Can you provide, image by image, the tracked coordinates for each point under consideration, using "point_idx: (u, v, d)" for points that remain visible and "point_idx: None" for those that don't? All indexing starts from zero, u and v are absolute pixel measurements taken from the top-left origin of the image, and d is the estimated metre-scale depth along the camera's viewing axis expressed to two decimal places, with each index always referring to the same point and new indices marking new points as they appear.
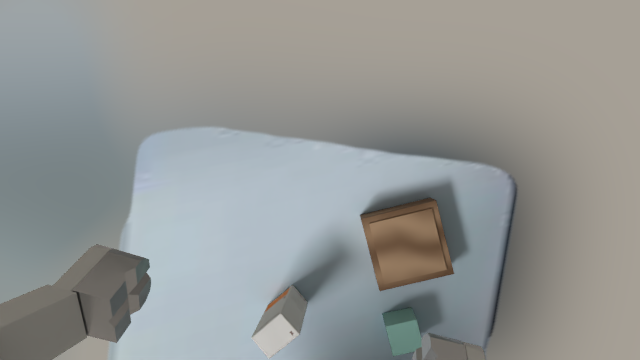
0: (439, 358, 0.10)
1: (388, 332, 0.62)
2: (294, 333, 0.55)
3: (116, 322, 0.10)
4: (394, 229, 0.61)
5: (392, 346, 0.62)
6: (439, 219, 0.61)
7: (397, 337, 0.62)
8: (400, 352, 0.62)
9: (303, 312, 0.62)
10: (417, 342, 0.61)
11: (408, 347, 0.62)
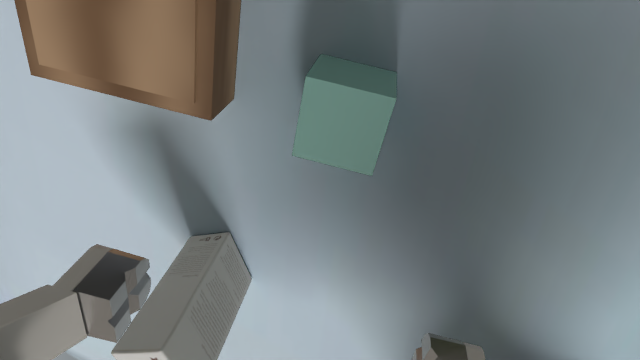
0: (439, 358, 0.10)
1: (308, 156, 0.23)
2: (156, 356, 0.25)
3: (116, 322, 0.10)
4: (55, 7, 0.22)
5: (347, 165, 0.23)
6: None
7: (331, 145, 0.23)
8: (371, 156, 0.23)
9: (201, 273, 0.30)
10: (367, 104, 0.21)
11: (369, 133, 0.22)
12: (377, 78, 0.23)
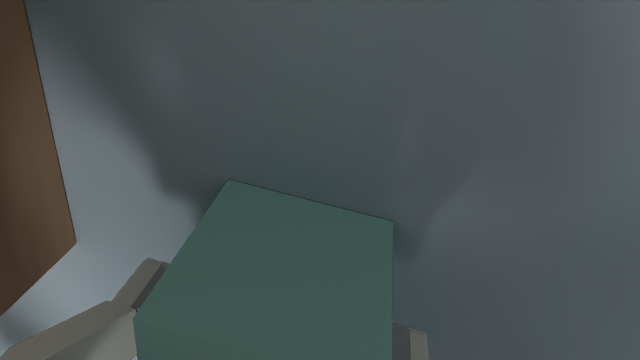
0: None
1: None
2: None
3: None
4: None
5: None
6: None
7: None
8: None
9: None
10: None
11: None
12: (345, 269, 0.09)
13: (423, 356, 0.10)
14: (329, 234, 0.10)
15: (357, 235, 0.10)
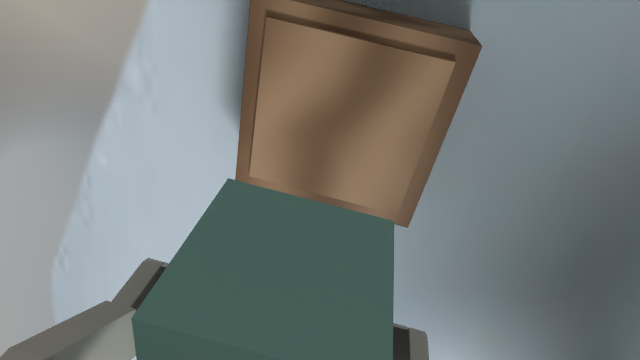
0: None
1: None
2: None
3: None
4: (282, 133, 0.23)
5: None
6: (308, 8, 0.20)
7: None
8: None
9: None
10: None
11: None
12: (345, 268, 0.09)
13: (423, 356, 0.10)
14: (329, 233, 0.10)
15: (358, 234, 0.10)
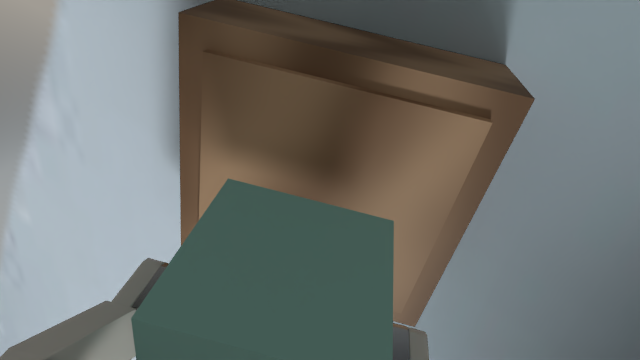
0: None
1: None
2: None
3: None
4: None
5: None
6: (265, 39, 0.13)
7: None
8: None
9: None
10: None
11: None
12: (345, 268, 0.09)
13: (423, 356, 0.10)
14: (329, 233, 0.10)
15: (357, 234, 0.10)
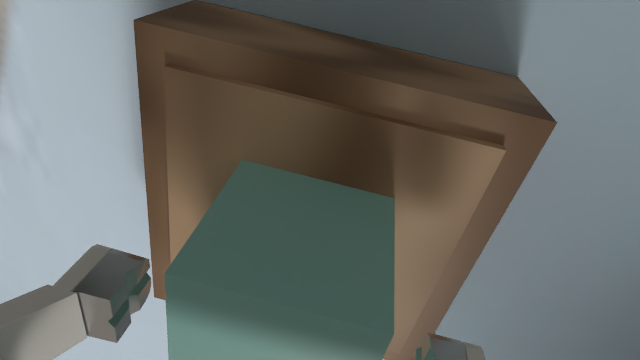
0: (439, 358, 0.10)
1: None
2: None
3: (116, 322, 0.10)
4: None
5: None
6: (237, 51, 0.11)
7: None
8: None
9: None
10: (321, 337, 0.09)
11: None
12: (351, 237, 0.10)
13: None
14: (336, 208, 0.11)
15: (362, 209, 0.11)
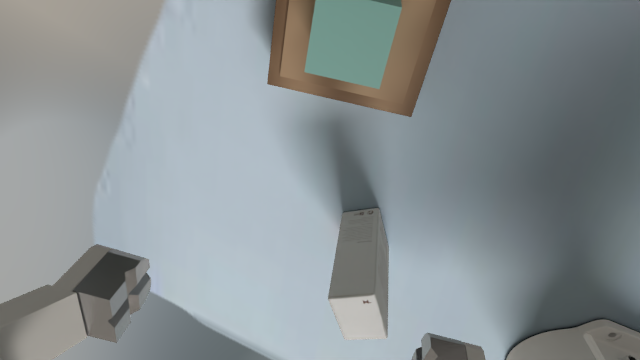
0: (439, 358, 0.10)
1: (320, 72, 0.25)
2: (368, 299, 0.32)
3: (116, 322, 0.10)
4: (308, 33, 0.29)
5: (356, 79, 0.25)
6: None
7: (341, 59, 0.24)
8: (379, 68, 0.24)
9: (373, 239, 0.38)
10: (374, 15, 0.23)
11: (377, 45, 0.24)
12: None
13: None
14: None
15: None
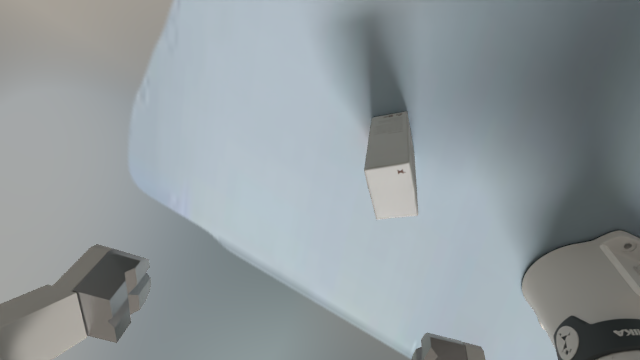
0: (439, 358, 0.10)
1: None
2: (403, 168, 0.34)
3: (116, 322, 0.10)
4: None
5: None
6: None
7: None
8: None
9: (404, 130, 0.40)
10: None
11: None
12: None
13: None
14: None
15: None
